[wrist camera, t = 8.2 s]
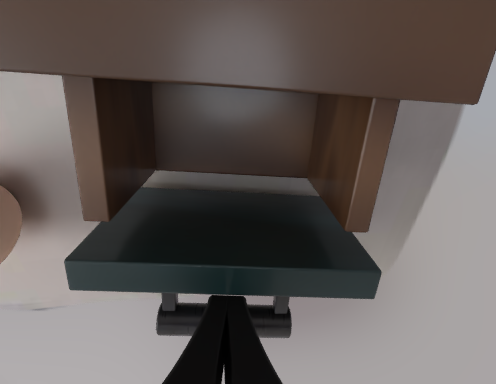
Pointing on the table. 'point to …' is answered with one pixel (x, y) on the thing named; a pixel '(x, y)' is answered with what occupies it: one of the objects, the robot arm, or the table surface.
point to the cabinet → (261, 44)
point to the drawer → (225, 194)
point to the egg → (8, 222)
